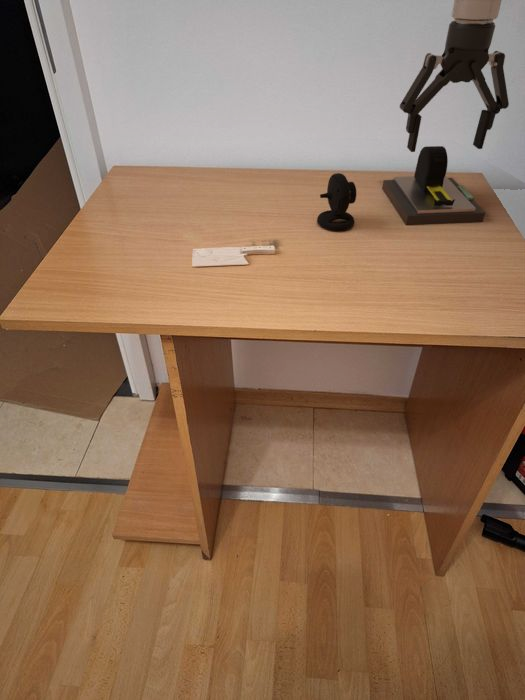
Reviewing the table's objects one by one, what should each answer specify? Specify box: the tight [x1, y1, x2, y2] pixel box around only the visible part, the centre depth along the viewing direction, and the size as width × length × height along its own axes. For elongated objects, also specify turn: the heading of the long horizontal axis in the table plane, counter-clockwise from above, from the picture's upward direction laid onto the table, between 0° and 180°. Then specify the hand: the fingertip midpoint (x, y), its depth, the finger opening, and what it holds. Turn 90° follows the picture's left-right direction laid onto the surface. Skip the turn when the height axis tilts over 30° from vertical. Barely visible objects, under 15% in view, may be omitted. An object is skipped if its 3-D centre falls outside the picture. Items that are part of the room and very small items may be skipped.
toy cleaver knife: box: [191, 245, 276, 268], centre depth 87 cm, size 5×15×1 cm, turn 94°
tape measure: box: [413, 145, 455, 206], centre depth 100 cm, size 15×4×8 cm, turn 2°
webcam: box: [316, 172, 357, 232], centre depth 95 cm, size 8×8×10 cm
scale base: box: [381, 177, 486, 226], centre depth 104 cm, size 16×18×3 cm
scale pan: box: [392, 175, 476, 214], centre depth 103 cm, size 12×17×1 cm
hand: (444, 148), depth 96 cm, fingers open, 13 cm apart
